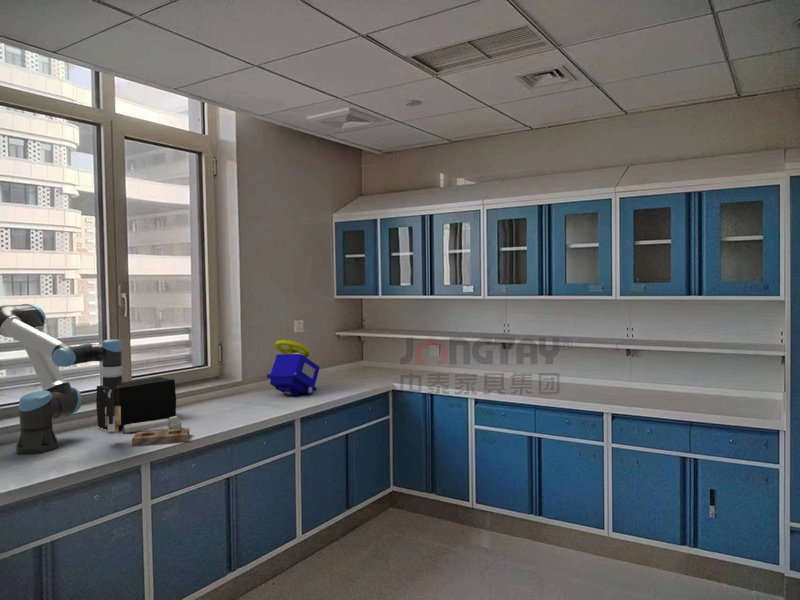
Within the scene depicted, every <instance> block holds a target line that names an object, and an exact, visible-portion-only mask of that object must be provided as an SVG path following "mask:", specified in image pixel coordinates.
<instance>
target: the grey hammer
mask: <svg viewBox="0 0 800 600" xmlns="http://www.w3.org/2000/svg"><path fill="white" fill-rule="evenodd" d="M182 423H183V422H182V421H180V418H179V417H178V416H177V415H176V416H174V417H170V418H168V419H161V420H154V421H147V422H140V423H133V424H132V423H131V424H128V425H123V430H122V431H123V434H124V433H125V434H131V432H132V434H133V433H137V432H142V431H145V430H146V431H147V430H149V429H154V428H159V427H165V426H167V427H168V430H170V429H183V428H182Z"/></svg>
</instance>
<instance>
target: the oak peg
mask: <svg viewBox="0 0 800 600" xmlns="http://www.w3.org/2000/svg"><path fill="white" fill-rule="evenodd" d="M105 415H106V407H105ZM114 416H115V431H110V432H108V431H107V434H110V435H113V434H118V433H119V430H118V426H121V406H115V407H114ZM105 427H108V417H105Z"/></svg>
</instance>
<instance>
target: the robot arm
mask: <svg viewBox="0 0 800 600" xmlns="http://www.w3.org/2000/svg"><path fill="white" fill-rule="evenodd" d="M46 319H47V318H46V313H45V312H44V310H43V309H42V308H41V307H40V306H38V305H36V304H29V303H23V304H22V303H21V304H12V305H10V304H8V305H5V304H4V305H0V336H2V337H5V338H12V339H14V340H16V341H17V342H19V343H22V345H23V347H24V349H25V352H26V354H27V357H28V358H29V361H30V363H31V365H32V367H33V369H34V371H35V374H36V376H37V378H38V380H39V383H40V385H41V388H42V390H39V391H35V392H30V393H27V394H24V395H22V396H21V397H20V398H19V401H18V403H19V405H18V412H19V413H18V414H19V415H18V416H19V435H18V437H17V438H18V439H17V443H16V445H15V453H17V454H20V455H31V454H34V455H35V454H40V453H45V452H50V451H53V450H54V449H57V448H58V447H59V440H58V437H57V436H56V434H55V431H54V429H53V428H54V427H53V421H54V420H56V419H61V418H64V417H69V416H71V415H73V414H76V413H77V412H78V411H79V410H80V409H81V406H82V404H83V396H82V393H81V391H80V390H79V389H77V388H76V387H72V386H71V383H70V382H69V381H68V380H67V381H66V380H64V377H63V376H62V373H61V371H60V369H59V367H60V368H62V367H70V366H75V365H81V364H86V363H90V362H99V363H100V362H101V363H102V364H101V365H102V372H101V373H102V375H101V376H103V377H102V385H104V386H108V390H107V393H106V415H105V417H108V431H107V433H108V432H110V431H115V416H114V407H115V406H119V387H117V386H118V385H121V384H122V382H123V376H122V374H123V371H124V367H123V365H122V364H123V363H122V362H123V361H122V357H123V356H122V355H123V347H122V341H121V340H120V339H104V340H102V342H101V343H90V342H89V343H81V344H79V345H74V346H72V345H69V344H66V343H65V342H62V341H61V340H59V339H58V338H57V339H56V338H55V337H53V336H50V335H49V334H47V333H45V332H44V330H45V324H46ZM118 427H119V426H118Z"/></svg>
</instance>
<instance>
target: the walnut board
mask: <svg viewBox="0 0 800 600" xmlns="http://www.w3.org/2000/svg"><path fill="white" fill-rule="evenodd" d="M190 433H191V432H190V428H189V427H187V428H180V429H179V428H178V429H170V430H169V429H160V430H159V429H158V430H157V429H156V430H146V431H145V430H142V431H136V432H135V434H134V435H133V437H132V438H131V447H134V446H133V445H138V446H148V445H147V444H151V445H159V444H158V443H164V444H173V443H172V442H176V443H186V442H188V441H189V438H188V437H190V435H191V434H190ZM189 434H190V435H189ZM181 441H183V442H181ZM184 441H185V442H184Z"/></svg>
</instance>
